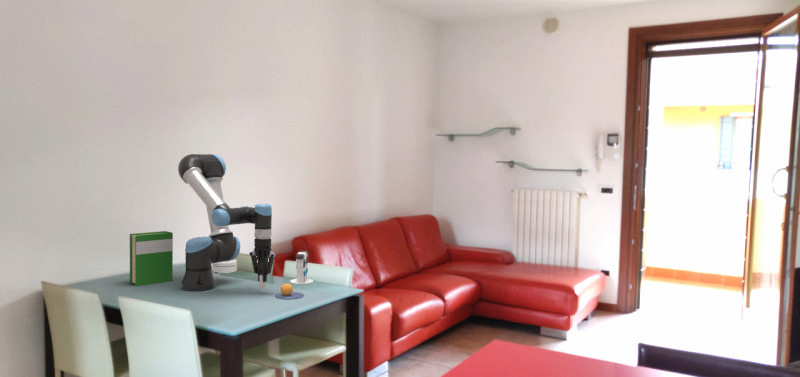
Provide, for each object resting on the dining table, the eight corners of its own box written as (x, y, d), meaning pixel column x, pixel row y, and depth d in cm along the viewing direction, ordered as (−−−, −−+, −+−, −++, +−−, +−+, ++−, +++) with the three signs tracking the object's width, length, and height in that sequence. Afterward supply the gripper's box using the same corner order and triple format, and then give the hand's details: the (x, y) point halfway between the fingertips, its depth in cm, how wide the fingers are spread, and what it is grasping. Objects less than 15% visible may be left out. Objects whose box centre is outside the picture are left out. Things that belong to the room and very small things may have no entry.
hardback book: (136, 286, 273) (136, 235, 271) (129, 283, 278) (129, 233, 276) (172, 280, 286) (172, 232, 284) (165, 278, 291) (165, 231, 289)
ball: (282, 299, 260) (276, 289, 261) (288, 296, 265) (282, 286, 266) (291, 292, 259) (284, 282, 259) (297, 290, 264) (290, 280, 265)
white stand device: (310, 284, 285) (310, 254, 284) (287, 284, 286) (288, 253, 285) (314, 279, 297) (315, 250, 296) (292, 278, 298) (293, 249, 297)
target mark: (269, 297, 258) (269, 297, 258) (283, 291, 270) (283, 290, 270) (295, 300, 254) (295, 300, 254) (308, 294, 266) (308, 293, 266)
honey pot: (241, 271, 314) (241, 238, 313) (219, 274, 304) (220, 240, 303) (229, 267, 322) (229, 235, 321) (207, 270, 313) (207, 237, 312)
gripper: (245, 237, 263) (245, 289, 265) (271, 239, 259) (270, 291, 261) (254, 235, 271) (254, 285, 272) (279, 237, 267) (278, 288, 268)
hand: (262, 288), depth 266 cm, fingers closed
